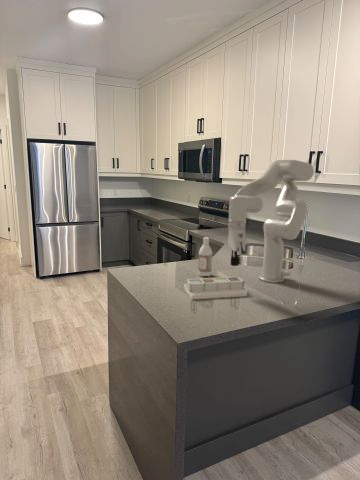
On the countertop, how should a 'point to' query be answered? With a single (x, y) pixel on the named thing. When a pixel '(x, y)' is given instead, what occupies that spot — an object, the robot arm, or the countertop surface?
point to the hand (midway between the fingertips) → (234, 265)
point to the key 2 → (220, 280)
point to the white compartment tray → (215, 288)
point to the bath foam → (205, 259)
